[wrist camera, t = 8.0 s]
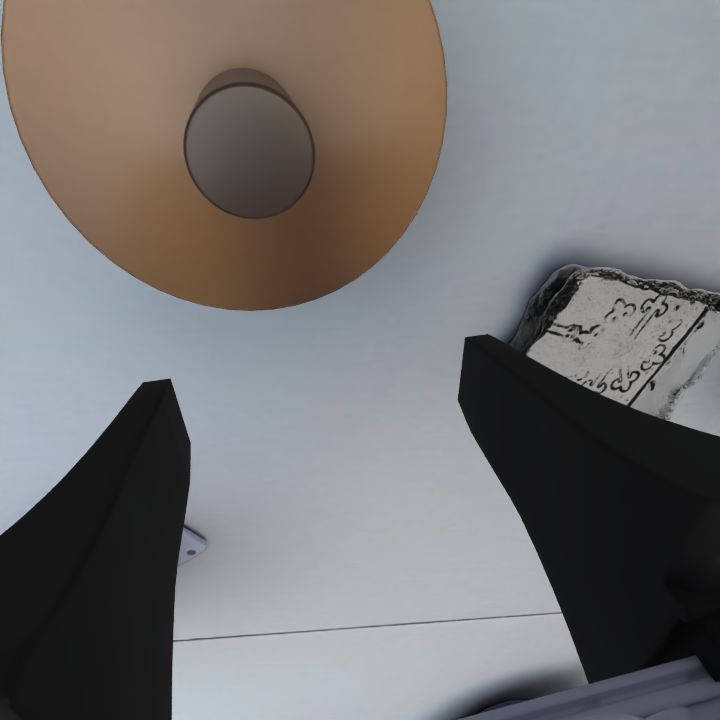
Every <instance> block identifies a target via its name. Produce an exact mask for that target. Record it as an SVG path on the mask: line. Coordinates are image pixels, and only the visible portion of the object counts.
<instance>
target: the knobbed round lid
mask: <svg viewBox="0 0 720 720" xmlns="http://www.w3.org/2000/svg"><path fill="white" fill-rule="evenodd" d="M1 46H2V63H3V74H4V79H5V84H6V90H7V95H8V100H9V105H10V109H11V112H12V115H13V118H14V121H15V124H16V127H17V130H18V133H19V137H20V139H21V141H22V144H23V146H24V148H25V150H26V152H27V155H28V157H29V159H30V161H31V163H32V166H33V168H34V170H35V171H36V173H37V175H38V176H39V178H40V180H41V181H42V183H43V185H44V186H45V188H46V190H47V191H48V193H49V195H50V196H51V198H52V199H53V200H54V202H55V203H56V204H57V206H58V207H59V208H60V210H61V211H62V212H63V214H64V215H65V216H66V217H67V219H68V220H69V221H70V222H71V224H72V225H73V226H74V227H75V228H76V229H77V230H78V231H79V232H80V233H81V234H82V235H83V236H84V237H85V238H86V239H87V240H88V241H89V243H91V244H92V245H93V246H94V247H95V248H96V249H98V250H99V251H100V252H101V253H102V254H103V255H105V256H106V257H107V258H108V259H109V260H111V261H112V262H113V263H115V264H116V265H117V266H119V267H120V268H122V269H123V270H125V271H126V272H128V273H129V274H131V275H132V276H134V277H135V278H137V279H139V280H141V281H143V282H145V283H146V284H148V285H150V286H152V287H154V288H156V289H158V290H160V291H163V292H165V293H168V294H170V295H172V296H175V297H177V298H180V299H183V300H186V301H190V302H194V303H197V304H201V305H204V306H210V307H216V308H222V309H228V310H246V311H255V310H273V309H279V308H284V307H290V306H295V305H299V304H302V303H306V302H309V301H312V300H316V299H318V298H320V297H323V296H325V295H327V294H330V293H332V292H334V291H336V290H338V289H340V288H342V287H343V286H345V285H347V284H349V283H350V282H352V281H354V280H355V279H357V278H358V277H359V276H361V275H362V274H363V273H365V272H366V271H367V270H369V269H370V268H371V267H373V266H374V265H375V264H376V263H377V262H378V261H379V260H380V259H381V258H382V257H383V256H384V255H385V254H386V253H388V252H389V250H390V249H391V248H392V247H393V246H394V244H395V243H396V242H397V241H398V240H399V238H400V237H401V236H402V235H403V234H404V232H405V231H406V229H407V228H408V226H409V225H410V223H411V222H412V220H413V219H414V217H415V215H416V214H417V212H418V210H419V208H420V206H421V204H422V202H423V200H424V198H425V196H426V194H427V192H428V189H429V187H430V184H431V181H432V179H433V176H434V173H435V171H436V167H437V163H438V159H439V155H440V151H441V147H442V143H443V137H444V129H445V121H446V109H447V81H446V70H445V59H444V52H443V47H442V42H441V37H440V33H439V28H438V23H437V20H436V17H435V14H434V11H433V8H432V5H431V2H430V0H4V2H3V14H2V27H1Z"/></svg>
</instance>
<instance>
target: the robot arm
mask: <svg viewBox="0 0 720 720" xmlns="http://www.w3.org/2000/svg"><path fill="white" fill-rule="evenodd" d="M458 402H459V404H460V407H461V409H462V412H463V414H464V417H465V419H466V421H467V424H468V426H469V428H470V431H471V433H472V434H473V436H474V438H475V440H476V441H477V443H478V445H479V447H480V448H481V450H482V452H483V453H484V455H485V457H486V458H487V460H488V462H489V463H490V465H491V467H492V468H493V470H494V472H495V473H496V475H497V477H498V478H499V480H500V482H501V483H502V485H503V487H504V488H505V490H506V492H507V493H508V495H509V497H510V498H511V500H512V502H513V504H514V506H515V507H516V509H517V511H518V513H519V515H520V517H521V519H522V521H523V523H524V525H525V527H526V529H527V532H528V534H529V536H530V538H531V540H532V542H533V545H534V547H535V549H536V551H537V553H538V556H539V558H540V560H541V563H542V565H543V567H544V570H545V572H546V574H547V577H548V579H549V581H550V584H551V586H552V588H553V591H554V593H555V596H556V598H557V601H558V603H559V606H560V608H561V611H562V613H563V616H564V618H565V621H566V623H567V626H568V628H569V631H570V634H571V636H572V639H573V642H574V644H575V647H576V650H577V653H578V655H579V658H580V661H581V664H582V666H583V669H584V672H585V675H586V677H587V680H588V683H589V684H587V685H584V686H580V687H576V688H573V689H569V690H565V691H562V692H558V693H554V694H550V695H547V696H543V697H539V698H536V699H532V700H528V701H524V702H521V703H517V704H513V705H510V706H506V707H502V708H499V709H495V710H491V711H487V712H484V713H480V714H476V715H473V716H469V717H465V718H461V719H458V720H720V437H719V436H715V435H712V434H708V433H705V432H702V431H698V430H695V429H691V428H688V427H685V426H682V425H679V424H676V423H673V422H670V421H667V420H664V419H661V418H658V417H655V416H653V415H650V414H647V413H644V412H642V411H639V410H637V409H634V408H632V407H629V406H627V405H624V404H622V403H620V402H617V401H615V400H612V399H610V398H608V397H605V396H603V395H601V394H599V393H597V392H595V391H593V390H591V389H588V388H586V387H584V386H582V385H580V384H578V383H576V382H574V381H572V380H570V379H568V378H567V377H565V376H563V375H561V374H559V373H557V372H555V371H553V370H552V369H550V368H548V367H546V366H544V365H543V364H541V363H539V362H537V361H536V360H534V359H532V358H530V357H529V356H527V355H525V354H523V353H522V352H520V351H518V350H516V349H515V348H513V347H511V346H509V345H508V344H506V343H504V342H502V341H500V340H498V339H497V338H495V337H493V336H490V335H488V334H486V335H479V336H472V337H465V343H464V352H463V360H462V369H461V377H460V386H459V394H458ZM190 460H191V443H190V440H189V436H188V433H187V430H186V427H185V424H184V420H183V417H182V414H181V411H180V407H179V404H178V401H177V398H176V395H175V391H174V388H173V385H172V382H171V379H164V380H157V381H150V382H143V383H142V384H141V386H140V387H139V388H138V389H137V390H136V392H135V393H134V394H133V395H132V397H131V398H130V399H129V401H128V402H127V403H126V404H125V406H124V407H123V408H122V410H121V411H120V412H119V413H118V415H117V416H116V417H115V419H114V420H113V421H112V422H111V424H110V425H109V426H108V427H107V429H106V430H105V431H104V432H103V433H102V435H101V436H100V437H99V438H98V439H97V441H96V442H95V443H94V444H93V446H92V447H91V448H90V449H89V450H88V451H87V452H86V454H85V455H84V456H83V457H82V458H81V459H80V460H79V461H78V462H77V463H76V465H75V466H74V467H73V468H72V469H71V470H70V471H69V472H68V473H67V475H66V476H65V477H64V478H63V479H62V480H61V481H60V482H59V483H58V484H57V485H56V486H55V487H54V488H53V489H52V490H51V491H50V492H49V493H48V494H47V495H46V496H45V497H44V498H42V499H41V500H40V501H39V502H38V503H37V504H36V505H35V506H34V507H33V508H32V509H31V510H30V511H28V512H27V513H26V514H25V515H24V516H23V517H22V518H21V519H20V520H18V521H17V522H16V523H15V524H14V525H13V526H11V527H10V528H9V529H8V530H6V531H5V532H4V533H3V534H2V535H0V720H172V659H173V625H174V602H175V585H176V575H177V567H178V566H180V565H182V564H183V563H185V562H187V561H188V560H190V559H192V558H194V557H195V556H197V555H199V554H200V553H202V552H204V551H205V550H206V545H207V543H206V541H205V540H204V539H202V538H200V537H199V536H197V535H195V534H194V533H192V532H191V531H189V530H187V529H186V528H184V520H185V513H186V507H187V500H188V493H189V485H190Z"/></svg>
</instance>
